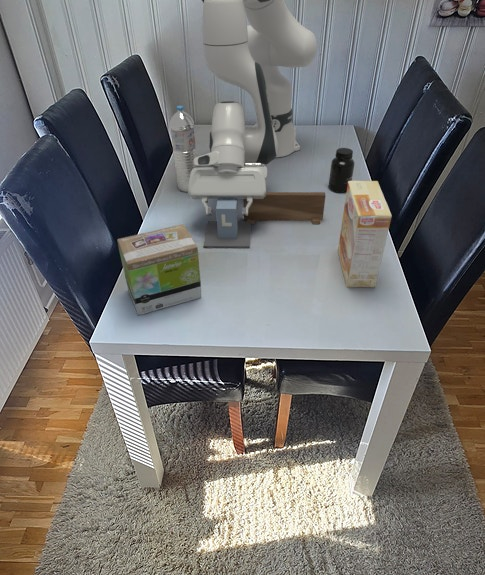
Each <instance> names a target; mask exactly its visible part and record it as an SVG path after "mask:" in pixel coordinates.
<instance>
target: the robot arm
mask: <svg viewBox="0 0 485 575" xmlns="http://www.w3.org/2000/svg"><path fill="white" fill-rule="evenodd" d="M201 1H202V3H203V7H202V25H201V26H202V28H201V29H202V44H203V45H202V46H203V53H204V59H205V60H204V61H205V63H206V66H207V68H208V70H209V71H210V73H211V74H212V75H214V76H215V77H216V78H217V79H219V80H221V81H223V82H224V83H228V84H230V85H232V86H236V87H238V88H240V89H242V90H243V91H246V92H247V93H248V94H249V95H250V96H251V99H252V101H253V106H254V111H255V116H256V117H255V118H256V123H255V124H253V125H252V127H251V126H250V127H248V126H247V127H246V121H245V111H244V106H243V104H241V103H240V102H238V101H234V100H233V101H232V100H226V101H224V100H223V101H220V102H218V103H216V104H214V107H213V111H212V112H213V113H212V118H211V131H210V132H209V151H210V152H208V153H206V154H203V155H199V156H197V157H196V158H194V161H193V163H194V168H193V169H192V171H191V173H190V177H189V184H188V192H187V194H188V195H189V197H190V198H191V199H193V200H201V203H202V204H203V205H204V208H205V216H208V217H209V216H213V209H212V207H209V206H208V204H207V203H209V200H218V199H237V200H243V199H247V203H248V204H247V206H246V208H244V207H242V212H241V213H242V214H241V215H242V216H243V217H244V216H248V209H249V208H250V206H251V205H252V202H253V199H263V198H264V197H265V196H266V192H267V183H266V179H268V171H269V170H268V167H267V166H266V165H268V164H269V163H271V162H272V161H273V160H274V159H275V158H282V157H286V156H289V155H290V154H293V153H294V152H297V151H300V149H301V146H300V144H299V143H298V141H297V140H296V130H297V129H296V126H295V124H294V123H293V121H292V120H293V109H292V100H293V99H292V96H293V87H292V84H291V82H290V80H289V79H288V78H287V77H285V76H284V75H283V74H282V73H281V71H280V69H279V67H284V68H291V69H292V68H293V69H294V68H296V69H297V68H304V67H308V66H310V65H311V64H312V62H313V61H314V59H315V58H316V55H317V52H318V40H317V38H316V35H315V34H314V32H313V31H311V30H309V29H308V28H306V26H303V25H302V24H301V22H299V21H298V20H297V18H295V17H294V15H293V14H292V13H291V11H290V10H289V8H288V6H287V5H286V1H285V0H201ZM247 21H248V23H249V25H248V23H247Z"/></svg>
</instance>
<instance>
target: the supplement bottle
mask: <svg viewBox="0 0 485 575" xmlns="http://www.w3.org/2000/svg"><path fill="white" fill-rule="evenodd" d="M335 152H336V153H335V157H334V158H333V159H332V160H331V163H330V171H329V172H330V173H329V178H328V189H330V190H331V191H333V192H335V193H339V194H340V193H346V192H347V185H348V181H353V175H354V170H355V161H354V159H353V154H354V151H353V150H352V149H351V148H348V147H341V148H340V147H339V148H337V149H336V151H335Z"/></svg>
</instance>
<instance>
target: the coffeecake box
mask: <svg viewBox="0 0 485 575" xmlns="http://www.w3.org/2000/svg"><path fill="white" fill-rule="evenodd" d="M345 193H346V194H345V202H344V207H343V214H342V218H341V219H342V220H341V225H340V227H341V228H340V235H339V240H338V247H337V253H338V257H339V261H340V266H341V270H342V274H343V279H344V283H345V287H346V288H375V287H376V285H377V281H378V277H379V272H380V268H381V264H382V259H383V255H384V252H385V247H386V242H387V237H388V234H389V229H390V224H391V222H392V217H393V216H392V213H391V211H390V207H389V205H388V202H387V201H386V199H385V196H384V193H383V191H382V189H381V186H380V184H379V181H378V180H352V181H348V185H347V192H345Z"/></svg>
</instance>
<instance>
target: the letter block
mask: <svg viewBox="0 0 485 575" xmlns="http://www.w3.org/2000/svg"><path fill="white" fill-rule="evenodd" d="M216 200H217V201H216V207H215V211H216V212H215V213H216V221H217V229H218V238H237V232H238V221H239V219H238V218H239V217H238V216H239V215H238V199H216Z"/></svg>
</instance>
